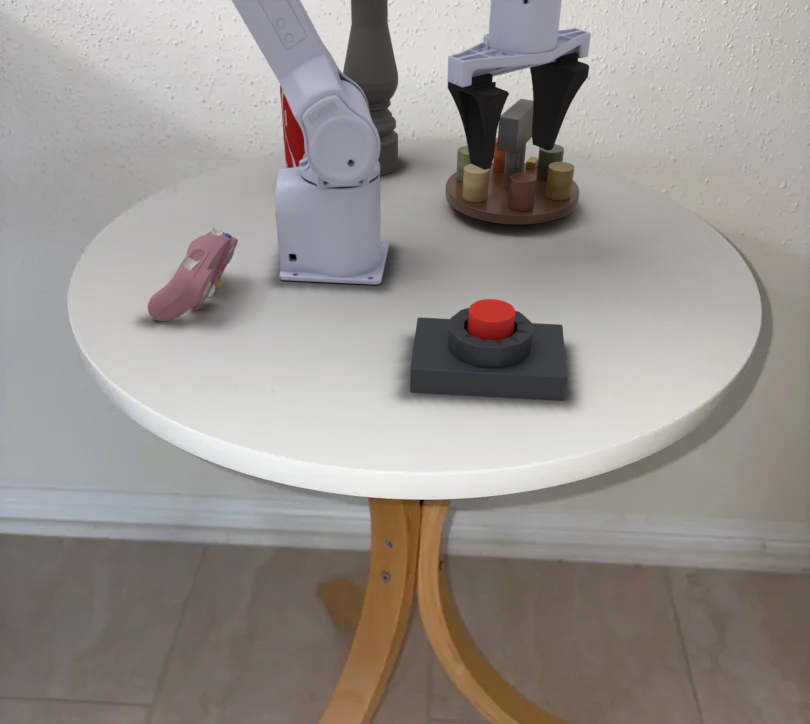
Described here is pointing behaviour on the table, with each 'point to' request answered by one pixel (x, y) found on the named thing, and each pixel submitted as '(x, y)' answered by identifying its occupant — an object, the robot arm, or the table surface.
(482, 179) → the spice carousel
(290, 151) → the soda can
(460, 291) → the table surface
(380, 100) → the candle holder
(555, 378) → the timer block
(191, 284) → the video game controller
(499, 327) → the timer button
